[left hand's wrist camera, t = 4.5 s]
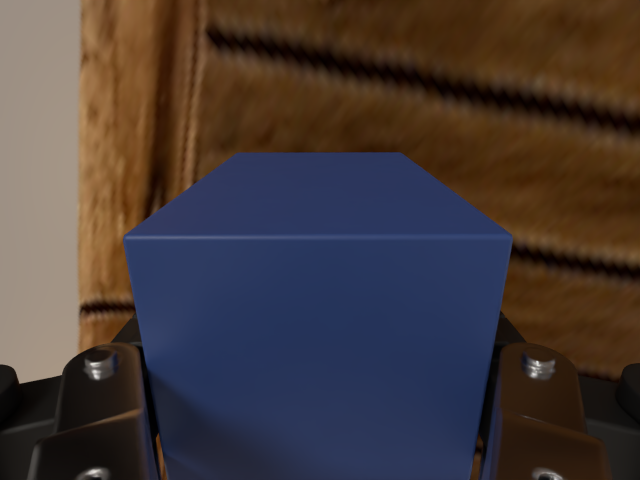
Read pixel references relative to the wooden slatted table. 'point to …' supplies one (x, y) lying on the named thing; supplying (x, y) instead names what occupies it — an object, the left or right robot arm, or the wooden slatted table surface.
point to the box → (318, 320)
